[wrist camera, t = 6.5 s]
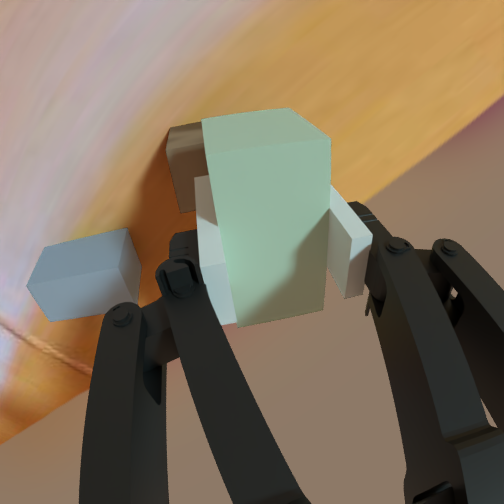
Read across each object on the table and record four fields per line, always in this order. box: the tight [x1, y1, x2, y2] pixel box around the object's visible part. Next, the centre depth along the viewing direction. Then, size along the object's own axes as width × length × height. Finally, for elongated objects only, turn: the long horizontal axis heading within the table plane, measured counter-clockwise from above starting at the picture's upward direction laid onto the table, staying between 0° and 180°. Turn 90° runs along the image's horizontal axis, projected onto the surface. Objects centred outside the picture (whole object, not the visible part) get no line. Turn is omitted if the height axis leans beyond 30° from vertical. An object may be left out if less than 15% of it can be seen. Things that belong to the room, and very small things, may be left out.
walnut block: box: [166, 122, 209, 213], centre depth 20 cm, size 8×4×5 cm, turn 96°
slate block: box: [26, 228, 142, 322], centre depth 23 cm, size 8×4×5 cm, turn 96°
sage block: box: [201, 108, 331, 328], centre depth 14 cm, size 8×4×5 cm, turn 6°
